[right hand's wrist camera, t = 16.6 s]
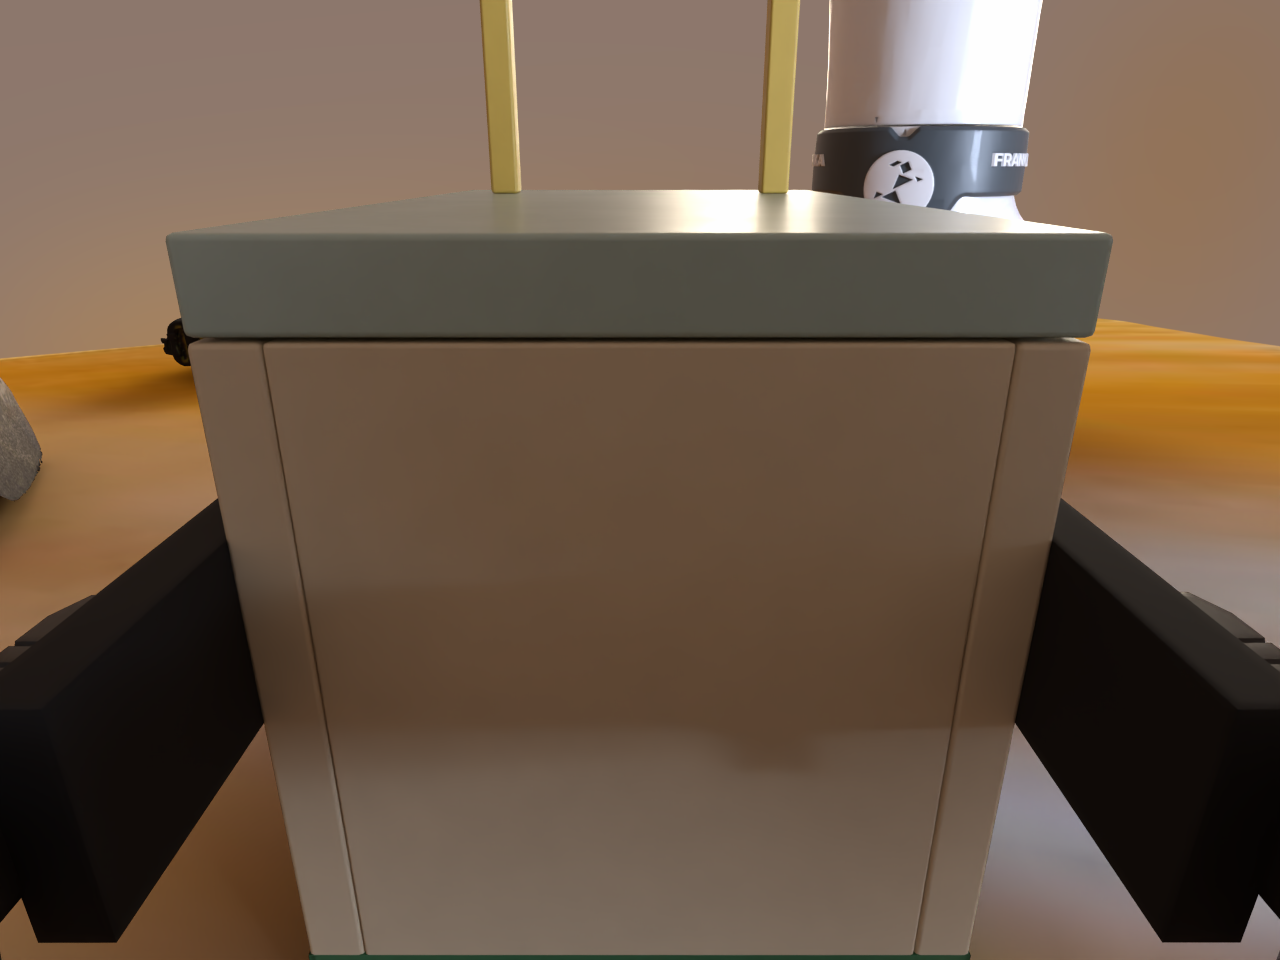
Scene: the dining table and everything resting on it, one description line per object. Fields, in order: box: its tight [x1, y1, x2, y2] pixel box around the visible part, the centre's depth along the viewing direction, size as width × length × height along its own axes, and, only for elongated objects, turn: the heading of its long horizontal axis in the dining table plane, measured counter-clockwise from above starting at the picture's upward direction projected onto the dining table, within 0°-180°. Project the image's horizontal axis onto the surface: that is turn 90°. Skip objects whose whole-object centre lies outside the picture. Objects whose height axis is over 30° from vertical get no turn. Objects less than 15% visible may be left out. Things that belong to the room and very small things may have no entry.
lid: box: [166, 0, 1113, 338], centre depth 15 cm, size 17×10×9 cm, turn 0°
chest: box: [188, 338, 1090, 960], centre depth 18 cm, size 16×10×10 cm, turn 0°
